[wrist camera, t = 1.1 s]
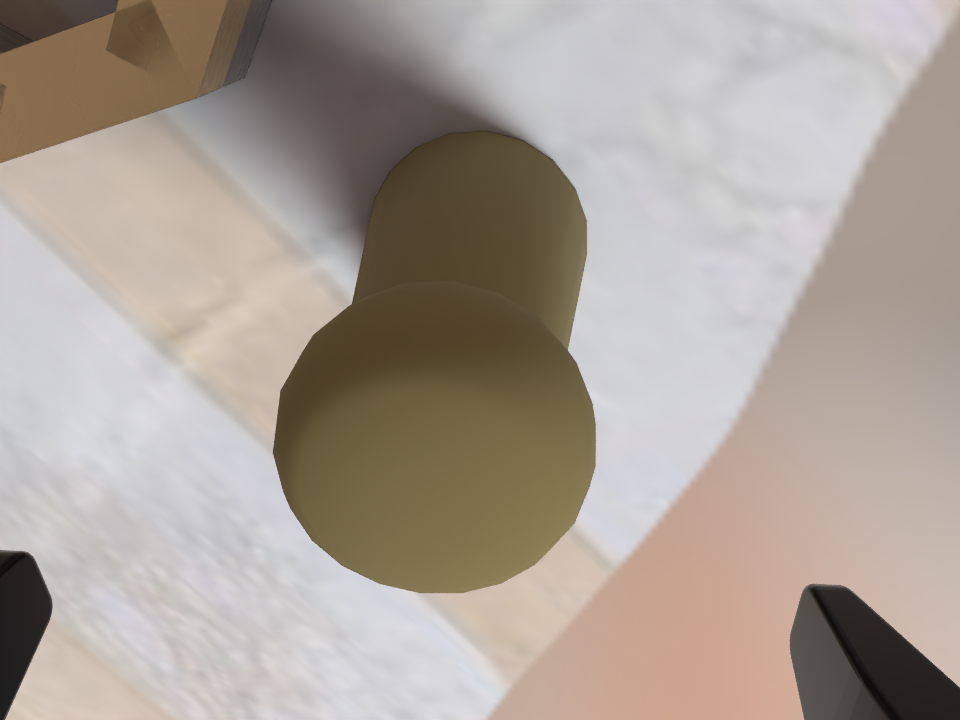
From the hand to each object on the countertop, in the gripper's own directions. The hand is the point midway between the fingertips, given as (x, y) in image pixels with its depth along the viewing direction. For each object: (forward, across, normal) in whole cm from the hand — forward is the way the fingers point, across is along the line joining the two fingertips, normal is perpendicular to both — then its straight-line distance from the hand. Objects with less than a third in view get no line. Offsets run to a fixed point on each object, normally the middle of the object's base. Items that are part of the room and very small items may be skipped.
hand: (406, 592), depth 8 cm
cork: (+13, 0, 0) cm, 13 cm away
